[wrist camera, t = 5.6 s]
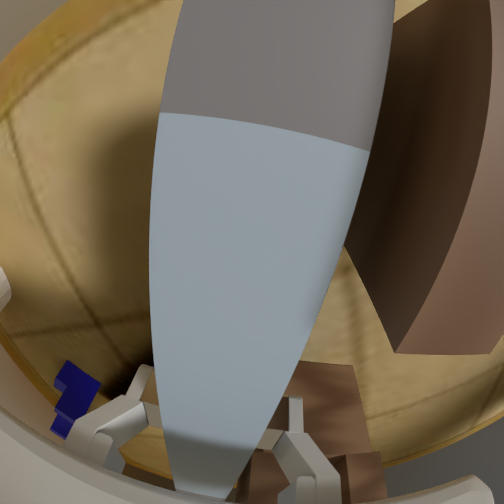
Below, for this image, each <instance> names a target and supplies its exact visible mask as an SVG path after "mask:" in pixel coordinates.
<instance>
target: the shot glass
mask: <svg viewBox="0 0 504 504" xmlns="http://www.w3.org/2000/svg"><path fill="white" fill-rule="evenodd" d="M10 299H11V287H10V284H9V282H8V279H7V277H6V275H5V273H4V271H3V269H2V268H1V266H0V312H1V311H2V309H3V308H4V307H5V306H6V304H7V303H8V302H9V301H10Z"/></svg>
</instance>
